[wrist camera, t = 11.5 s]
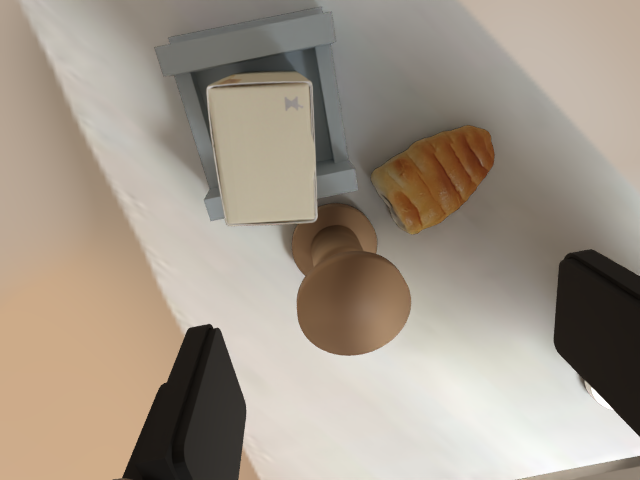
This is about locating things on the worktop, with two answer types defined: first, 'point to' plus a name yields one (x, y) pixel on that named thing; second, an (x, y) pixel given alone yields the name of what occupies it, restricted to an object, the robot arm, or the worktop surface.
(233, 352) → the worktop surface
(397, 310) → the wooden mushroom
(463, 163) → the pastry
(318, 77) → the grey rectangular frame
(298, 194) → the skincare box
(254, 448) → the worktop surface
